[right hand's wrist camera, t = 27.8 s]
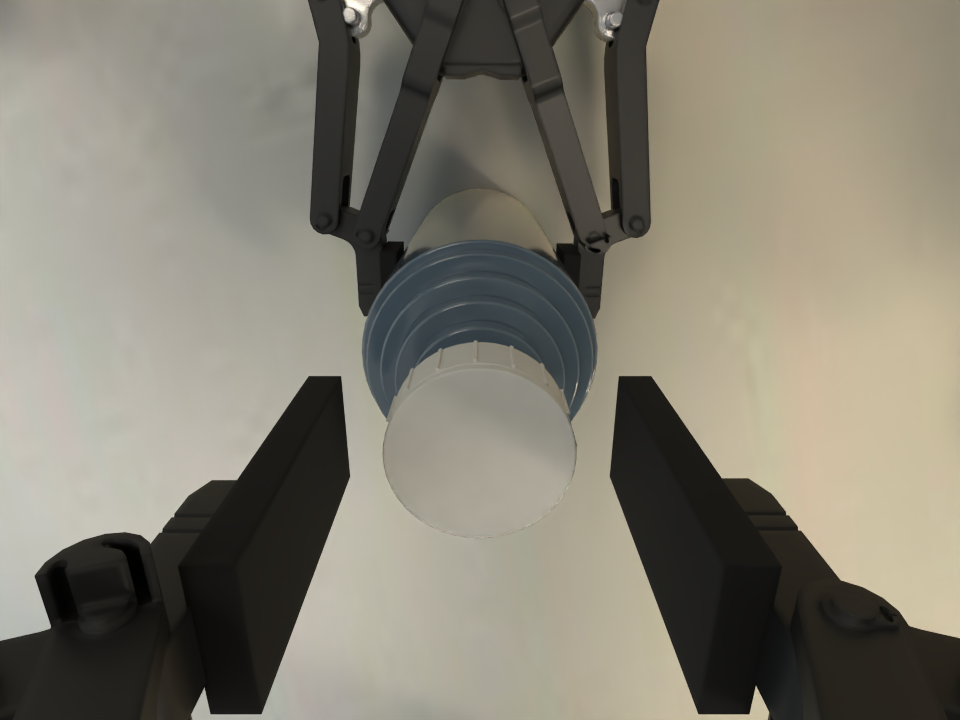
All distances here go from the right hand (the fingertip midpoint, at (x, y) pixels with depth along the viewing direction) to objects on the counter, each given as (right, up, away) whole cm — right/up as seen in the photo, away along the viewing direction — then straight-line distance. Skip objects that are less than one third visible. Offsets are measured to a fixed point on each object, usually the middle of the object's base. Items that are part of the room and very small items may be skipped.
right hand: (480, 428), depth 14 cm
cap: (0, 0, -1) cm, 1 cm away
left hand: (0, +1, +16) cm, 16 cm away
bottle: (0, +7, +19) cm, 21 cm away
